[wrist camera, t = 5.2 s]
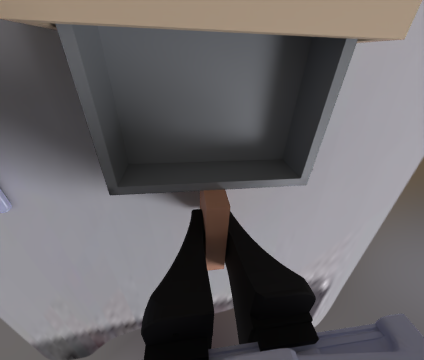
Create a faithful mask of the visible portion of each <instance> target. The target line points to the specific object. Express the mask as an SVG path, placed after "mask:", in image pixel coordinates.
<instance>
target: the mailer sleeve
mask: <svg viewBox="0 0 424 360" xmlns="http://www.w3.org/2000/svg"><path fill="white" fill-rule="evenodd" d="M421 2H422V0H0V19H3V20H8V21H13V22H18V23H23V24H28V25H33V26H38V27H43V28H48V29H53V30H57V28H56V24H74V25H93V26H113V27H133V28H152V29H172V30H192V31H212V32H231V33H251V34H271V35H291V36H310V37H330V38H350V39H358V40H357V43H362V42H376V41H390V40H404V39H405V37H406V35H407V32H408V30H409V28H410V26H411V24H412V21H413V19H414V17H415V15H416V13H417V11H418V8H419V6H420V4H421Z"/></svg>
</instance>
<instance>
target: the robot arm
mask: <svg viewBox="0 0 424 360" xmlns="http://www.w3.org/2000/svg"><path fill="white" fill-rule="evenodd" d="M11 208H12V206H11V204H10V202H9V201H8V199H7V198H6V196H5V195H4V193H3V192H2V190H1V189H0V213H6V212H8V211H9V210H10V209H11ZM225 264H226V267H227V271H228V275H229V280H230V286H231V292H232V298H233V304H234V311H235V317H236V324H237V331H238V338H239V345H234V346H228V347H221V348H214V349H211V344H212V335H213V320H214V308H213V299H212V294H211V289H210V283H209V277H208V271H207V264H206V258H205V250H204V242H203V213H202V209H197V210H192V215H191V221H190V225H189V228H188V231H187V234H186V237H185V239H184V242H183V244H182V247H181V249H180V251H179V253H178V255H177V257H176V259H175V261H174V262H173V264H172V266H171V268H170V269H169V271H168V272H167V274H166V275H165V277H164V278H163V280H162V281H161V283H160V284H159V285H158V287H157V288H156V289H155V291H154V292H153V293H152V295H151V297H150V299H149V301H148V304H147V307H146V309H145V313H144V316H143V321H142V328H141V335H142V337H143V340H144V342H145V344H146V347H145V355H144V360H424V337H423V335H422V334H421V333H420V332H419V331H418V329H417V328H416V327H415V326H414V325H413V324H412V323H411V321H410V320H409V319H408V318H407V317H406V315H405V314H402V313H401V314H394V315H388V316H384V317H381V318H380V319H378V320H377V321H376V323H375V324H369V325H363V326H357V327H350V328H344V329H337V330H330V331H325V332H318V333H316V331H315V329H314V327H313V325H312V323H311V322H312V321H313V320H312V317H311V315H310V313H309V311H310V310H311V308H312V306H313V305H314V303H315V300H316V298H315V295H314V293H313V291H312V290H311V288H310V286H309V285H308V283H307V282H306V281H305V279H304V278H303V277H301V276H300V275H298V274H296V273H295V272H293V271H291V270H290V269H288V268H287V267H285V266H284V265H282V264H281V263H279V262H278V261H277V260H276V259H274V258H273V257H272V256H271V255H269V254H268V253H267V252H266V251H265V250H263V249H262V248H261V247H260V246H259V245H258V244H257V243H256V242H255V241H254V240H253V239H252V238H251V237H250V236H249V235H248V234H247V232H246V231H245V230H244V229H243V228H242V226H241V225H240V224H239V223H238V221H237V220H236V219H235V217H234V216H233V214H232V213H231V211H230V215H229V225H228V234H227V244H226V254H225Z"/></svg>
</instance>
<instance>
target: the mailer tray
mask: <svg viewBox="0 0 424 360" xmlns="http://www.w3.org/2000/svg"><path fill="white" fill-rule="evenodd" d="M56 28H57V31H58V34H59V37H60V40H61V43H62V46H63V50H64V53H65V56H66V59H67V62H68V65H69V68H70V72H71V75H72V78H73V81H74V84H75V87H76V90H77V94H78V97H79V100H80V103H81V106H82V109H83V112H84V116H85V119H86V122H87V125H88V128H89V131H90V134H91V138H92V141H93V144H94V147H95V150H96V153H97V156H98V160H99V163H100V166H101V169H102V172H103V175H104V178H105V182H106V185H107V188H108V191H109V194H110V195H126V194H145V193H165V192H184V191H200V209H202V213H203V242H204V250H205V258H206V264H207V270H216V269H224V263H225V254H226V244H227V234H228V225H229V215H230V204H229V201H228V198H227V194H226V191H225V189H242V188H262V187H281V186H301V185H307V182H308V179H309V177H310V174H311V171H312V168H313V165H314V162H315V160H316V157H317V154H318V151H319V148H320V145H321V143H322V140H323V137H324V134H325V131H326V128H327V126H328V123H329V120H330V117H331V114H332V111H333V108H334V106H335V103H336V100H337V97H338V94H339V91H340V89H341V86H342V83H343V80H344V77H345V74H346V72H347V69H348V66H349V63H350V60H351V57H352V55H353V52H354V49H355V46H356V43H357V40H358V39H350V38H330V37H310V36H291V35H271V34H251V33H231V32H212V31H192V30H172V29H152V28H133V27H113V26H93V25H74V24H56Z"/></svg>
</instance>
